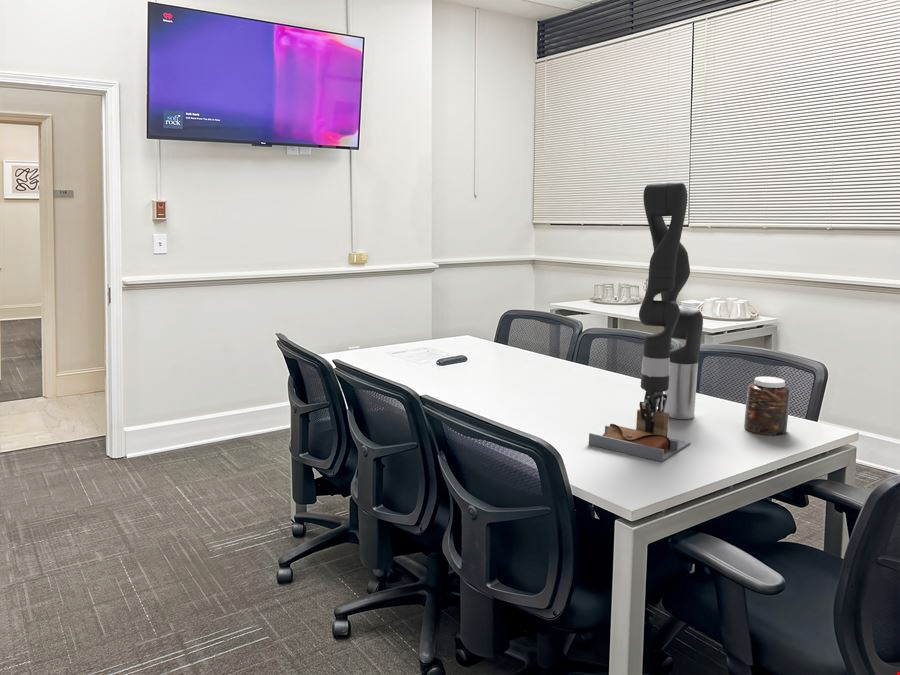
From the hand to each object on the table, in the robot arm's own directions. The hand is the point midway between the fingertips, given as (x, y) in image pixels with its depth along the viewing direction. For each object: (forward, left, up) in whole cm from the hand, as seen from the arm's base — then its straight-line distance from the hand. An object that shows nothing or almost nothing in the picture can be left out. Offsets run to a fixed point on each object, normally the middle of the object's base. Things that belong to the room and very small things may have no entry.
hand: (651, 432), depth 208 cm
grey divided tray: (+7, 0, -2) cm, 7 cm away
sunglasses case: (+12, 0, -1) cm, 12 cm away
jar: (-30, +22, -2) cm, 37 cm away
